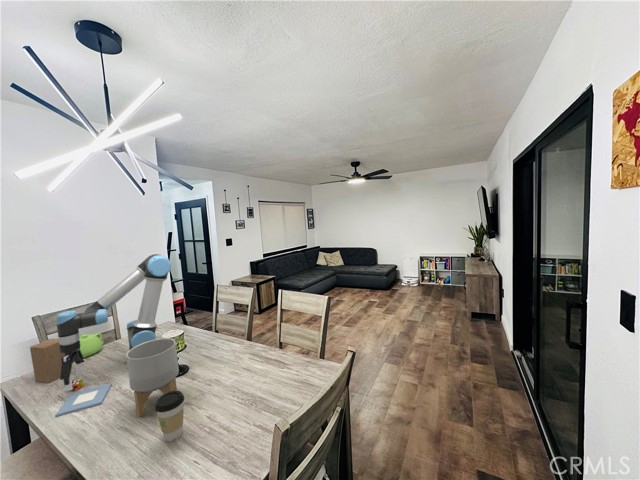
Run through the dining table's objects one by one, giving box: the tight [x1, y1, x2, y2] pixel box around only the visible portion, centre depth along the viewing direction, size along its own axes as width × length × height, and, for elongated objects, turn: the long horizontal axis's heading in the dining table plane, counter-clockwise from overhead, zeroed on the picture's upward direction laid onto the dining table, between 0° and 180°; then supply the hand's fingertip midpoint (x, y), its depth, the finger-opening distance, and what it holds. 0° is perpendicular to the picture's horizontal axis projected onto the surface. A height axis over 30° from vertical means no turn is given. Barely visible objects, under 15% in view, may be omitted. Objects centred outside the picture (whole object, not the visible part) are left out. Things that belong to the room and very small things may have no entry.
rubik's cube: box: [71, 377, 85, 392], centre depth 134 cm, size 4×5×5 cm
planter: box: [125, 337, 180, 418], centre depth 119 cm, size 19×19×26 cm
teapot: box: [79, 332, 104, 359], centre depth 169 cm, size 22×15×13 cm
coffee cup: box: [154, 390, 185, 442], centre depth 100 cm, size 10×10×15 cm
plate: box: [54, 382, 113, 418], centre depth 125 cm, size 16×16×1 cm
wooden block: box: [29, 338, 65, 384], centre depth 145 cm, size 10×10×20 cm
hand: (74, 382), depth 134 cm, fingers open, 13 cm apart
